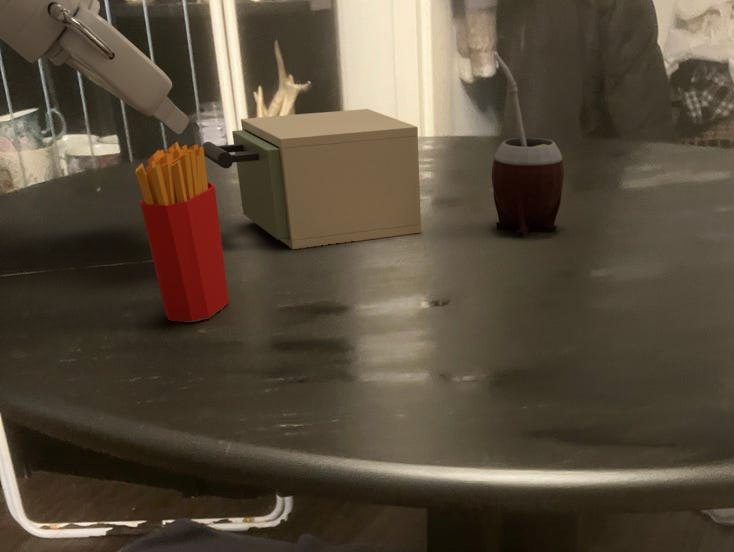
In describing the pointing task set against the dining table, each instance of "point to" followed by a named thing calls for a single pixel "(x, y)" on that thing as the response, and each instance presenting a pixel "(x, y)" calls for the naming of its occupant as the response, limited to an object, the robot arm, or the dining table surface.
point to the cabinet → (345, 175)
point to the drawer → (256, 179)
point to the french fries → (183, 232)
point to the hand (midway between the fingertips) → (181, 126)
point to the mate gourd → (526, 177)
